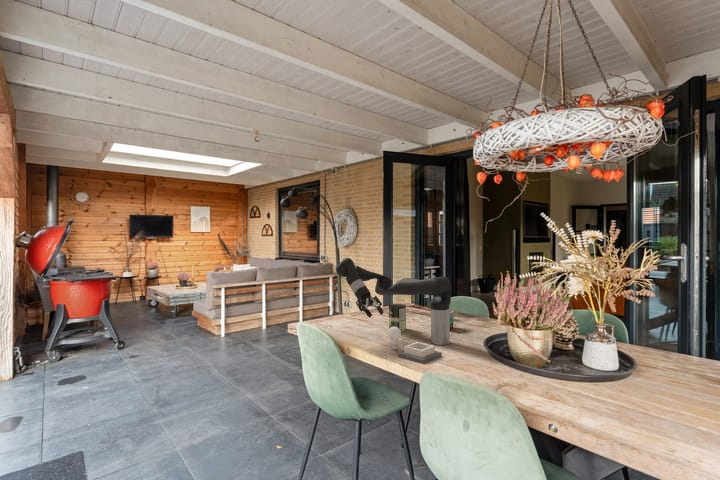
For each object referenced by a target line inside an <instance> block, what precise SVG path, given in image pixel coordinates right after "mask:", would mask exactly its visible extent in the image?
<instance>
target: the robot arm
mask: <svg viewBox="0 0 720 480" xmlns="http://www.w3.org/2000/svg"><path fill="white" fill-rule="evenodd" d="M335 271H336V273H337V274H338V276H340V277H345V281H346V283H347V284H348V286H349V287H350V290H351V292H352V293H353V294H354V297H355V298H356V301H355V304H356V306H357V308H358V309H359V311H360V312H364V314H366V316H367V317H368V318H372V316H373V314H372V313H371V311H370V309H369V307H372V308H375V309H376V310H377V312H378V313H379V314H380V315H383V314H384V311H385V310H383V308H382V305H383V303H382V301H381V299H379V298H378V296H377V295H379V296H394V295H395V296H396V295H399V296H401V295H402V296H416V295H427V296H433V297H434V300H432V302H430V338H431V339H430V342H431V344H434V345H438V346H439V345H441V346H446V345H449V344H450V343H451V338H450V337H451V332H450V331H451V330H450V323H449V311H450V305H451V302H452V299H451V298H452V285H451V284H452V283H451V281H450V279H449V278H448V277H446V276H436V277H431V278H426V279H418V278H414V277H409V278H405V277H404V278H401V279H400V280H398V281H397V282H396V283H394V284H393V279H392V278H391V277H389V276H387V275H384V274H380V273H377V272H374V271H372V270H371V271H370V270H368V269H365V268H363V267H361V266H359V265H356V264H355V262H354V261H353V259H351V258H350V257H345V258H343V259H342V260H341V261H340V262H339V264H337V266H336V267H335ZM370 280H376V282H375V288H374V291H375V293H376V294H377V295H375V296H374V297H373V296H372V294H371V291H370V289H369V288H368V286H367V285H366V284H365V282H368V281H370Z"/></svg>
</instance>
